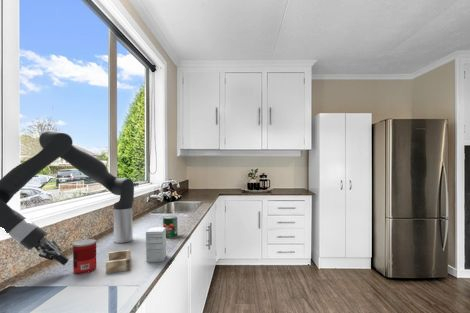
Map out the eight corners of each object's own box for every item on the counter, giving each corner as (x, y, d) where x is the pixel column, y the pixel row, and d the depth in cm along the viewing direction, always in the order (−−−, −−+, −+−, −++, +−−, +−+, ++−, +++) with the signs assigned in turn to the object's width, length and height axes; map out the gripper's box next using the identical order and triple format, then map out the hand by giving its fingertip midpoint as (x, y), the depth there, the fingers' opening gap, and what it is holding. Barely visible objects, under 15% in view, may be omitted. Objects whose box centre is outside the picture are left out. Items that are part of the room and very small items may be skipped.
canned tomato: (163, 239, 149) (162, 218, 149) (163, 235, 156) (162, 215, 156) (178, 237, 151) (177, 217, 151) (177, 234, 158) (177, 214, 158)
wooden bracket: (105, 273, 104) (105, 262, 104) (109, 261, 116) (109, 252, 116) (130, 269, 107) (129, 259, 107) (130, 258, 119) (130, 249, 119)
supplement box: (149, 256, 122) (149, 227, 122) (166, 255, 123) (166, 226, 123) (145, 262, 115) (145, 231, 115) (163, 261, 116) (163, 231, 116)
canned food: (100, 267, 110) (100, 239, 110) (84, 275, 103) (83, 245, 103) (86, 265, 113) (85, 238, 113) (68, 273, 105) (68, 244, 105)
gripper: (29, 230, 96) (70, 260, 100) (42, 222, 109) (77, 249, 113) (11, 247, 95) (53, 277, 99) (26, 237, 107) (63, 264, 111)
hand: (66, 262), depth 106 cm, fingers closed
